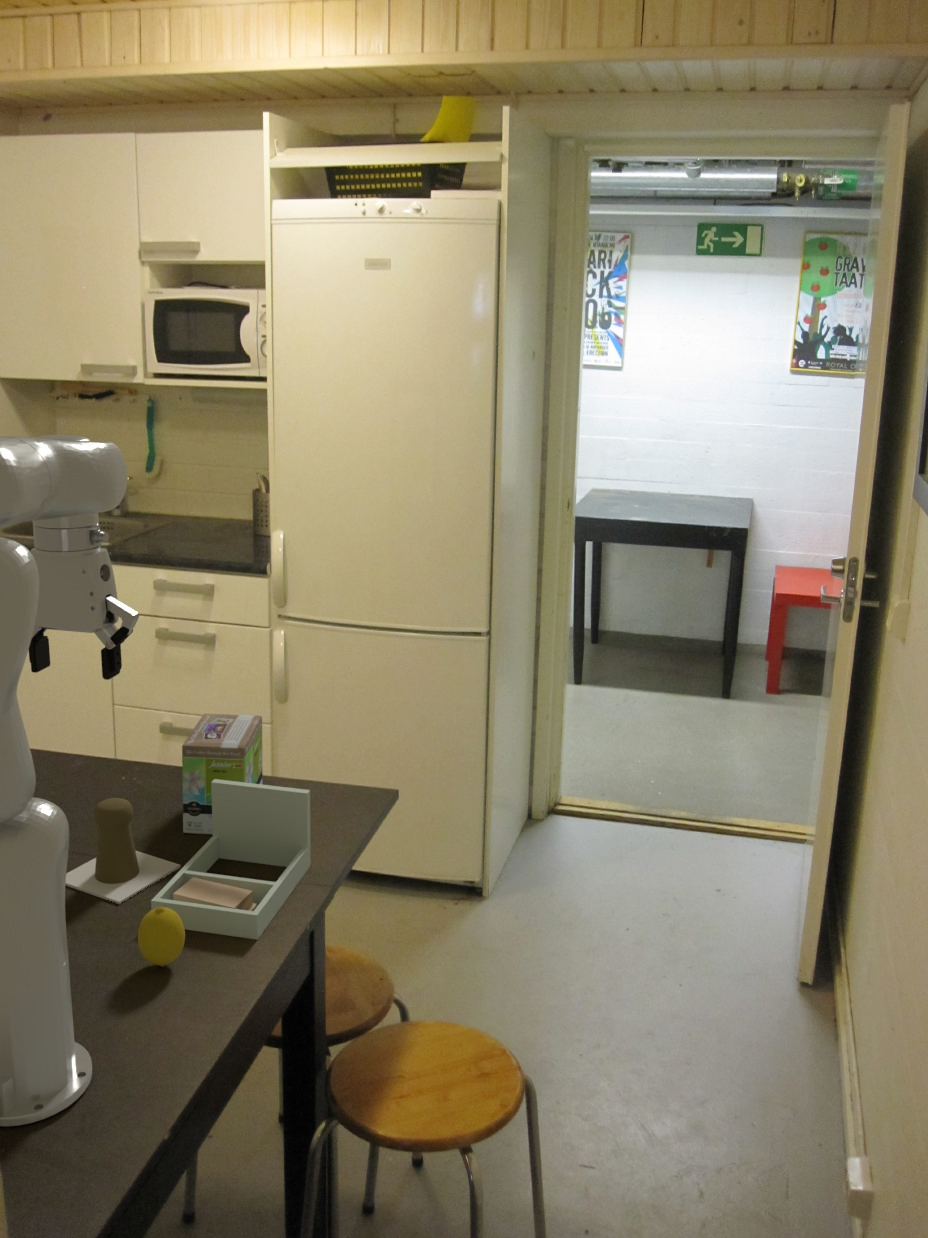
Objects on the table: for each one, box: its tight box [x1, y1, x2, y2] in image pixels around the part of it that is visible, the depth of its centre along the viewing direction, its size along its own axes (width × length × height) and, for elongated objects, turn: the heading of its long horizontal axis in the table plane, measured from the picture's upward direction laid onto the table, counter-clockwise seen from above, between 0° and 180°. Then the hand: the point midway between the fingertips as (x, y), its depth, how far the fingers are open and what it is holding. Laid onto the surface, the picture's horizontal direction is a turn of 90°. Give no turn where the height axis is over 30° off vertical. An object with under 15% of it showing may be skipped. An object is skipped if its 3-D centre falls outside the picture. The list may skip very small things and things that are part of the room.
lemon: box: [137, 906, 186, 967], centre depth 130 cm, size 6×6×8 cm
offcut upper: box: [173, 877, 253, 910], centre depth 142 cm, size 5×9×2 cm, turn 70°
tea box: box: [181, 713, 263, 835], centre depth 171 cm, size 15×10×15 cm
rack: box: [150, 779, 312, 940], centre depth 147 cm, size 20×15×12 cm
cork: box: [93, 797, 139, 884], centre depth 151 cm, size 6×6×11 cm
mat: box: [65, 850, 182, 905], centre depth 153 cm, size 12×12×1 cm
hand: (76, 672), depth 134 cm, fingers open, 9 cm apart
